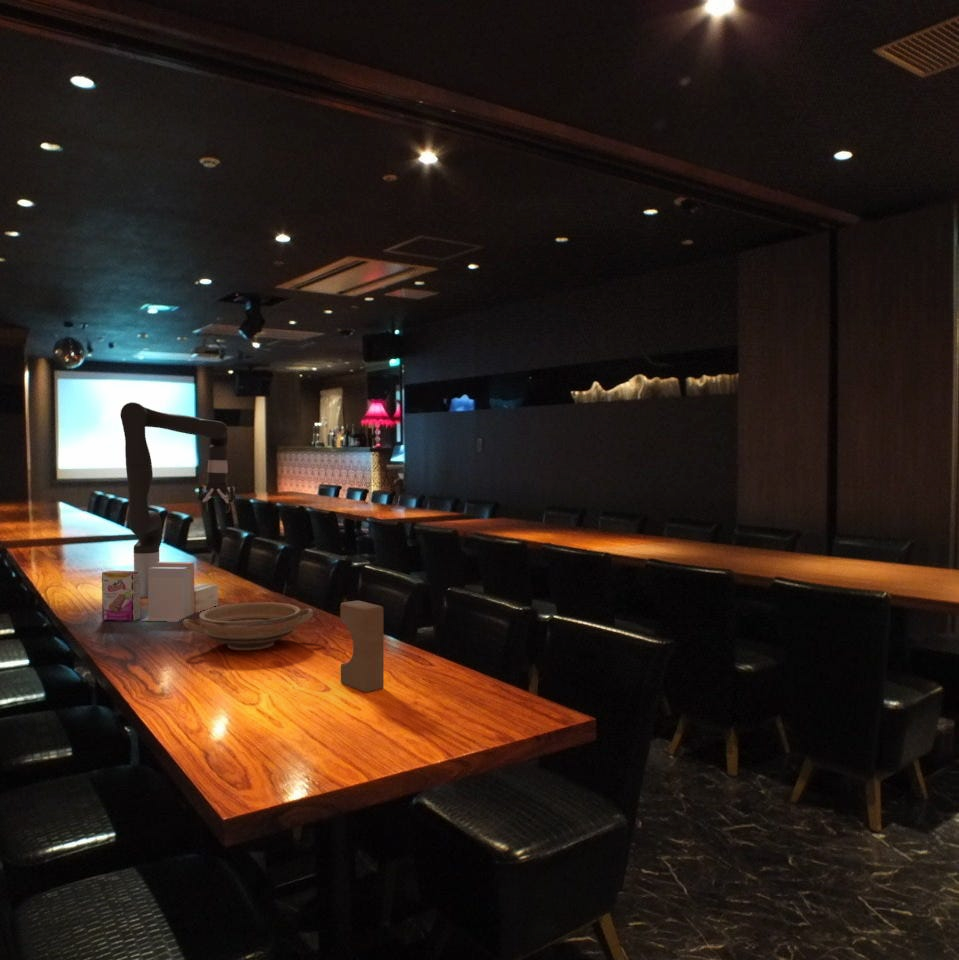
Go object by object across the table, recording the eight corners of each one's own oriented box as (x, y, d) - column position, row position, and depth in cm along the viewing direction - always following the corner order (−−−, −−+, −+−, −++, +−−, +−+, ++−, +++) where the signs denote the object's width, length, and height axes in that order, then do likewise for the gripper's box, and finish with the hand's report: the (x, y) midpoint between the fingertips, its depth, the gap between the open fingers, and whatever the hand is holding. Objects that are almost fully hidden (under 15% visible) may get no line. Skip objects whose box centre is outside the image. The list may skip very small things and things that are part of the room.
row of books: (141, 621, 262) (141, 567, 261) (161, 612, 276) (160, 561, 275) (176, 622, 261) (176, 568, 260) (194, 613, 275) (194, 562, 274)
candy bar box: (101, 621, 262) (100, 572, 262) (109, 618, 267) (109, 570, 267) (133, 622, 261) (132, 572, 261) (141, 618, 266) (140, 570, 266)
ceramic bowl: (189, 664, 210) (188, 627, 210) (178, 641, 236) (178, 608, 235) (325, 649, 226) (325, 615, 226) (301, 629, 252) (301, 598, 252)
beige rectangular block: (178, 613, 276) (178, 590, 276) (200, 605, 290) (200, 583, 290) (196, 614, 275) (196, 591, 275) (217, 606, 289) (217, 584, 288)
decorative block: (339, 683, 194) (339, 602, 193) (359, 678, 198) (359, 599, 197) (364, 693, 186) (364, 609, 185) (384, 688, 189) (384, 606, 189)
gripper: (196, 471, 310) (195, 512, 311) (231, 472, 310) (230, 513, 310) (203, 470, 318) (202, 510, 318) (238, 472, 317) (237, 512, 318)
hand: (216, 512), depth 314 cm, fingers open, 8 cm apart
